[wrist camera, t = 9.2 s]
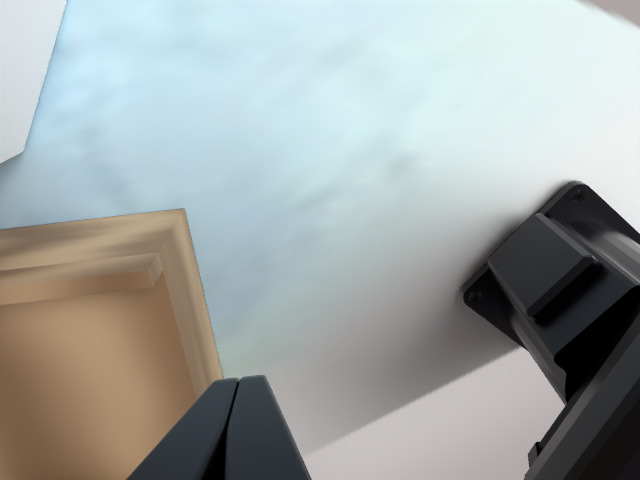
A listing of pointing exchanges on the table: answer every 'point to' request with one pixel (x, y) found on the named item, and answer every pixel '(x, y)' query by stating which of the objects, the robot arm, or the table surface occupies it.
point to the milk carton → (24, 65)
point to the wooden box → (98, 343)
